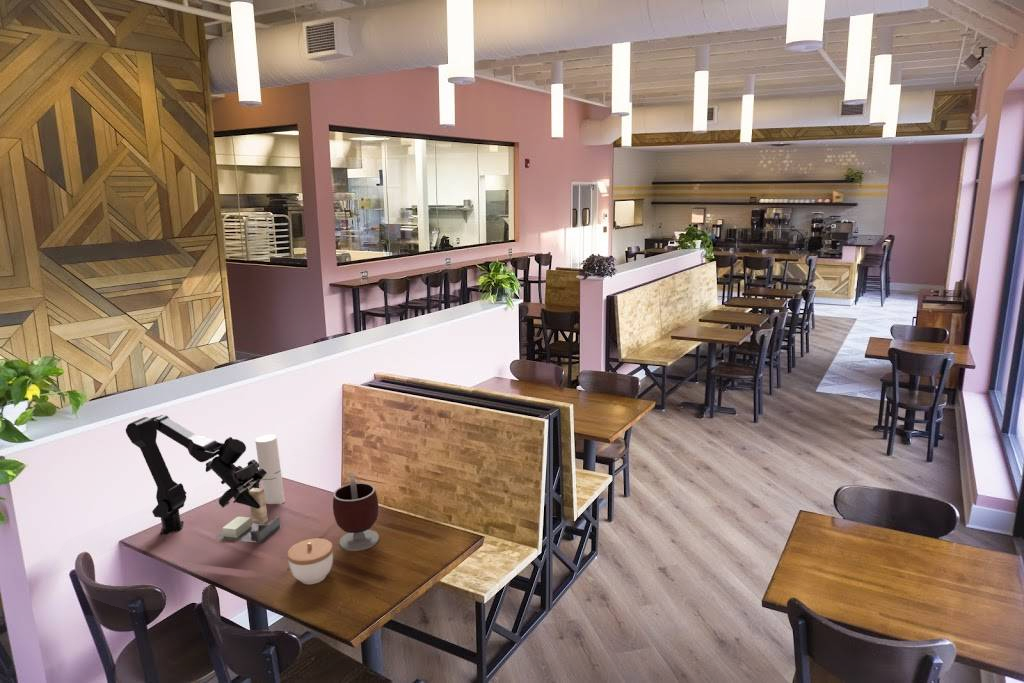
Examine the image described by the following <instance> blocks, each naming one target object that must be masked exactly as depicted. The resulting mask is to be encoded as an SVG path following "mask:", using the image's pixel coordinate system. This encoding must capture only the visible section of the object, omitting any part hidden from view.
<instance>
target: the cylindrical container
mask: <svg viewBox="0 0 1024 683" xmlns="http://www.w3.org/2000/svg"><path fill="white" fill-rule="evenodd" d="M254 441H255V448H256V454H257V462H258V464H259V468H258V469H264V470H265V471H266V472H267V474H266V475H265V476H264V477H263V478H262V479H261V480H260V483H261V489H264V494H265V502H266V505H274V504H275V505H283V504H282V503H283V502H284V501H285V502H286V499H285V490H284V484H283V483H284V482H283V478H282V469H281V461H280V455H279V454H280V453H279V446H278V438H277V435H275V434H265V435H261V436H258V437H256V438H255V440H254Z"/></svg>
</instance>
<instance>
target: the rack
mask: <svg viewBox="0 0 1024 683" xmlns="http://www.w3.org/2000/svg"><path fill="white" fill-rule="evenodd" d="M282 527H283V526H282V525H281V521H280V516H274V518H272V519H271V520H270V521H269V522H268V523H264V524H262V523H253V522H252V526H251V527H250V528H249V529H247V530H246V531H245V532H244V533H242V534H241V535H240V536H239V537H237V538H234V537H224V536H223V531H221V532H220V533H219V534H217V535H216V536H215V537H214V539H217V540H218V539H219V540H228V541H237V542H247V543H255V544H256V543H257V544H264V543H265V542H266V541H267V540H268V539H269V538H270V537H272V536H273V535H274V534H275V533H276V532H278V531H279V530H280V529H281V528H282Z"/></svg>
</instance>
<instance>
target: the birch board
mask: <svg viewBox="0 0 1024 683" xmlns="http://www.w3.org/2000/svg"><path fill="white" fill-rule="evenodd" d="M249 494H250V495H251V496H252V497H253V498H254V499H255V501H256V502H257V503H258V504H259V505H260V508H259V509H257V508H254V507H251V506H249V507H250V516H251V522H252V523H253V524H266V522H267V521H269V519H268V510H267V504H266V502H265V494H264V489H262V487H261V488H260V487H259V488H252V489H251V490H249Z"/></svg>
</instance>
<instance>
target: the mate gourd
mask: <svg viewBox="0 0 1024 683" xmlns="http://www.w3.org/2000/svg"><path fill="white" fill-rule="evenodd" d="M349 481H350V482H349V484H345V485H342V486H340V487H338V488H337V489H336V490H334V492H333V493H332V494H333V497H332V498H333V499H332V510H333V516H334V520H335V522H336V525H337V526H338V527H339V528H340V529H341V530H342V531H343V532H345V533H346V534H344V535H343V536H342V537H341V538H340V540H339V546H340V548H341V549H343V550H345V551H349V552H358V551H364V550H367V549H370V548H372V547H373V546H375V545H377V543H378V542H379V540H380V538H379V537H380V536H379V534H378V532H377V531H375V530H372V529H371V528H372V527H373V526H374V525H375V523H376V521H377V520H378V517H379V499H378V495H377V492H376V487H375V485H373V484H371V483H368V482H366V483H365V482H356V478H355V476H354V472H350V480H349Z"/></svg>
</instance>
